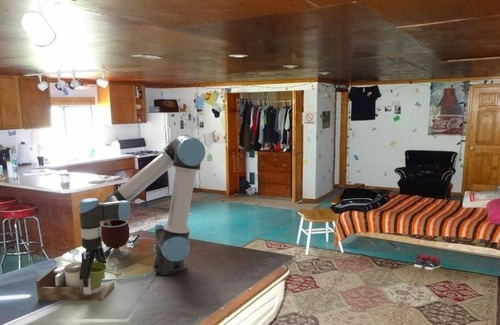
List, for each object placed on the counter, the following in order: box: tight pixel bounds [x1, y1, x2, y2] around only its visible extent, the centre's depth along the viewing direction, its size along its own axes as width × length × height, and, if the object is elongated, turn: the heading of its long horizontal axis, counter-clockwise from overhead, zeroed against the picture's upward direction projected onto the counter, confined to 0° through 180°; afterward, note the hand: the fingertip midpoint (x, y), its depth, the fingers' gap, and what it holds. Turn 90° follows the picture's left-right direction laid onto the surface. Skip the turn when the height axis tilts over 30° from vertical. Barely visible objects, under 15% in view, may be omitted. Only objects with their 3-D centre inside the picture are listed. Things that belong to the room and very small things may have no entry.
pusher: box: [54, 266, 66, 287], centre depth 165 cm, size 4×11×10 cm, turn 178°
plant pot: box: [89, 261, 108, 289], centre depth 164 cm, size 9×9×9 cm
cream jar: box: [63, 261, 84, 295], centre depth 165 cm, size 8×8×11 cm
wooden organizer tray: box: [35, 266, 116, 302], centre depth 165 cm, size 26×14×9 cm, turn 88°
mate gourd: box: [100, 219, 130, 259], centre depth 207 cm, size 16×14×20 cm
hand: (94, 285), depth 165 cm, fingers open, 13 cm apart
